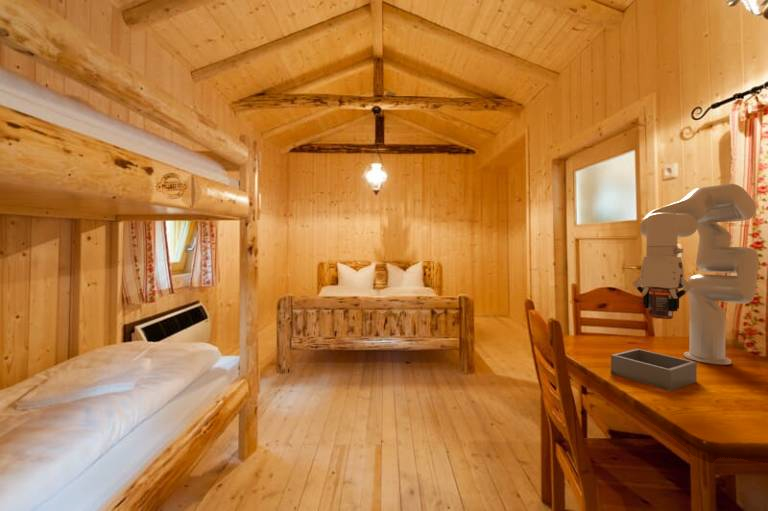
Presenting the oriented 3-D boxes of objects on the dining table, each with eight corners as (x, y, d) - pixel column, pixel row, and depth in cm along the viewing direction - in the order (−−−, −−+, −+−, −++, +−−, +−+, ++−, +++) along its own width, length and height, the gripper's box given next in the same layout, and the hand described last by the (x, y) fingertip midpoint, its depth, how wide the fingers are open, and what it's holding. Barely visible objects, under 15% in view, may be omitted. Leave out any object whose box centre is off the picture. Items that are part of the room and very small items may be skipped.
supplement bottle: (677, 320, 100) (678, 283, 100) (655, 319, 102) (656, 282, 102) (665, 316, 106) (665, 281, 106) (644, 315, 107) (644, 280, 107)
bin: (637, 365, 115) (637, 348, 115) (696, 381, 101) (696, 362, 101) (610, 373, 108) (611, 354, 108) (670, 391, 94) (671, 370, 94)
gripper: (702, 252, 98) (701, 313, 98) (636, 252, 113) (635, 304, 113) (691, 252, 95) (690, 314, 95) (624, 252, 110) (623, 306, 110)
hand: (660, 308), depth 104 cm, fingers closed on supplement bottle, 6 cm apart
